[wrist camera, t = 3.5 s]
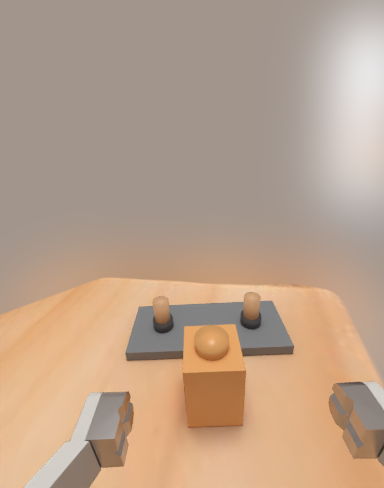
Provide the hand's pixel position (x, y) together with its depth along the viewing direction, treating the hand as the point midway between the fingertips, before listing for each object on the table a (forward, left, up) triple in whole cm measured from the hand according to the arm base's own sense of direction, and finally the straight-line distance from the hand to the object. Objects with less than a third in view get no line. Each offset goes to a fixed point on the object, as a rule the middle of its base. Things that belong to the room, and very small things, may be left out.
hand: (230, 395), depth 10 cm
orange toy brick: (-6, +11, -20) cm, 23 cm away
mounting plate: (-12, +20, -20) cm, 31 cm away
